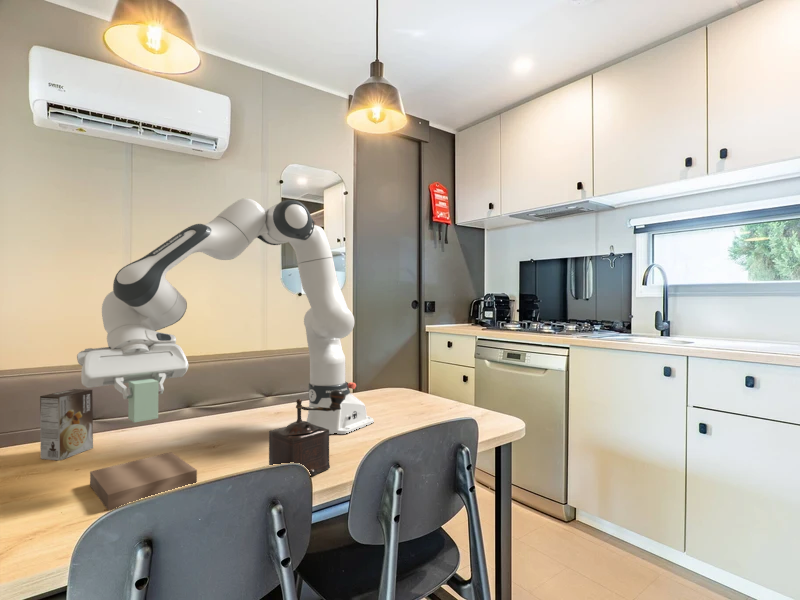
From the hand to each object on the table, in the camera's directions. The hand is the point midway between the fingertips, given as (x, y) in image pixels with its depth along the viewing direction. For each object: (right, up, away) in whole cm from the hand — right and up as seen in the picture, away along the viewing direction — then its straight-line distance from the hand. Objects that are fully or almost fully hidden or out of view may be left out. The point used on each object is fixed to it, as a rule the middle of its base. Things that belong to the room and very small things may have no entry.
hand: (144, 394), depth 89 cm
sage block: (0, -5, 0) cm, 5 cm away
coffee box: (-32, -20, +19) cm, 42 cm away
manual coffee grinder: (+33, -20, +10) cm, 40 cm away
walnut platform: (0, -19, 0) cm, 19 cm away
